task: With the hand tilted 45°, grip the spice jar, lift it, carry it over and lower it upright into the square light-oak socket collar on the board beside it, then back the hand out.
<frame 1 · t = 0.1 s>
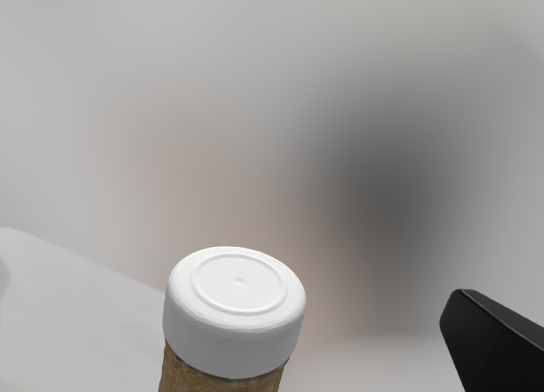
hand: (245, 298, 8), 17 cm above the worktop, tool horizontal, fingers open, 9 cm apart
when the fingers open (8 cm above the worktop, at t = 7.8 s): spice jar stays where it is, resting on socket.
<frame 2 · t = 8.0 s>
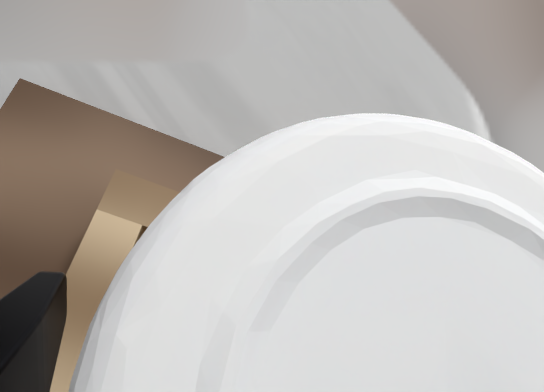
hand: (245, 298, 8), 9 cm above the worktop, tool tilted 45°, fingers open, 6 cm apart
socket: (194, 360, 16), on the worktop
spice jar: (197, 366, 15), point 1 cm above the worktop, touching socket
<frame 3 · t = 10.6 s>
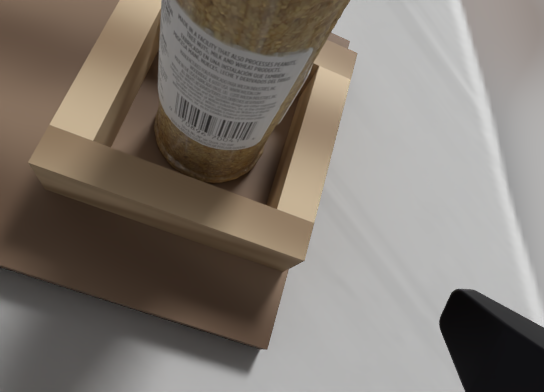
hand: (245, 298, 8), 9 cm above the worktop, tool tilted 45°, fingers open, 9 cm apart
socket: (206, 140, 19), on the worktop
spice jar: (208, 136, 18), point 1 cm above the worktop, touching socket
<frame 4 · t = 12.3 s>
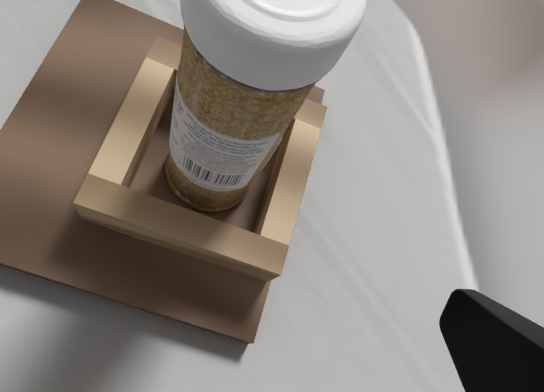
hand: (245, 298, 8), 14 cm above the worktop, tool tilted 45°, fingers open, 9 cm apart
socket: (205, 175, 23), on the worktop
spice jar: (207, 173, 23), point 1 cm above the worktop, touching socket
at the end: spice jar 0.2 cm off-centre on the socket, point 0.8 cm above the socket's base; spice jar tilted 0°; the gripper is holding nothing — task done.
